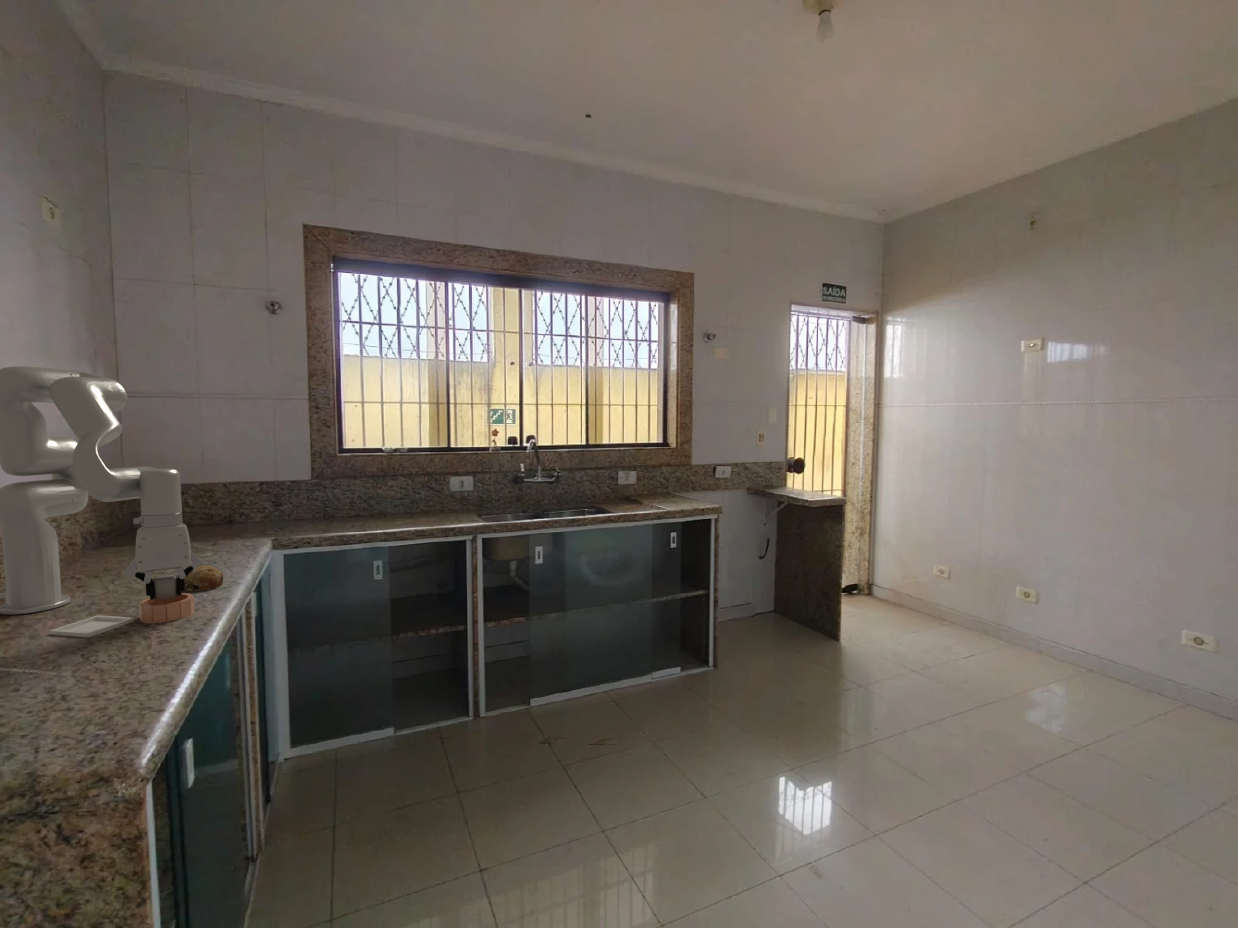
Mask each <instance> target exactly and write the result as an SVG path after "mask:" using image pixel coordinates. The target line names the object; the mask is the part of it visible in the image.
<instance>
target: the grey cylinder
mask: <svg viewBox="0 0 1238 928" xmlns="http://www.w3.org/2000/svg"><path fill="white" fill-rule="evenodd" d="M152 578H153V583H154V600H155V601H164V600H170V599H174V598H177V597H178V592H177V578H178V574H167V575H160V576H159V575H158V576H155V577H152Z"/></svg>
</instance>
